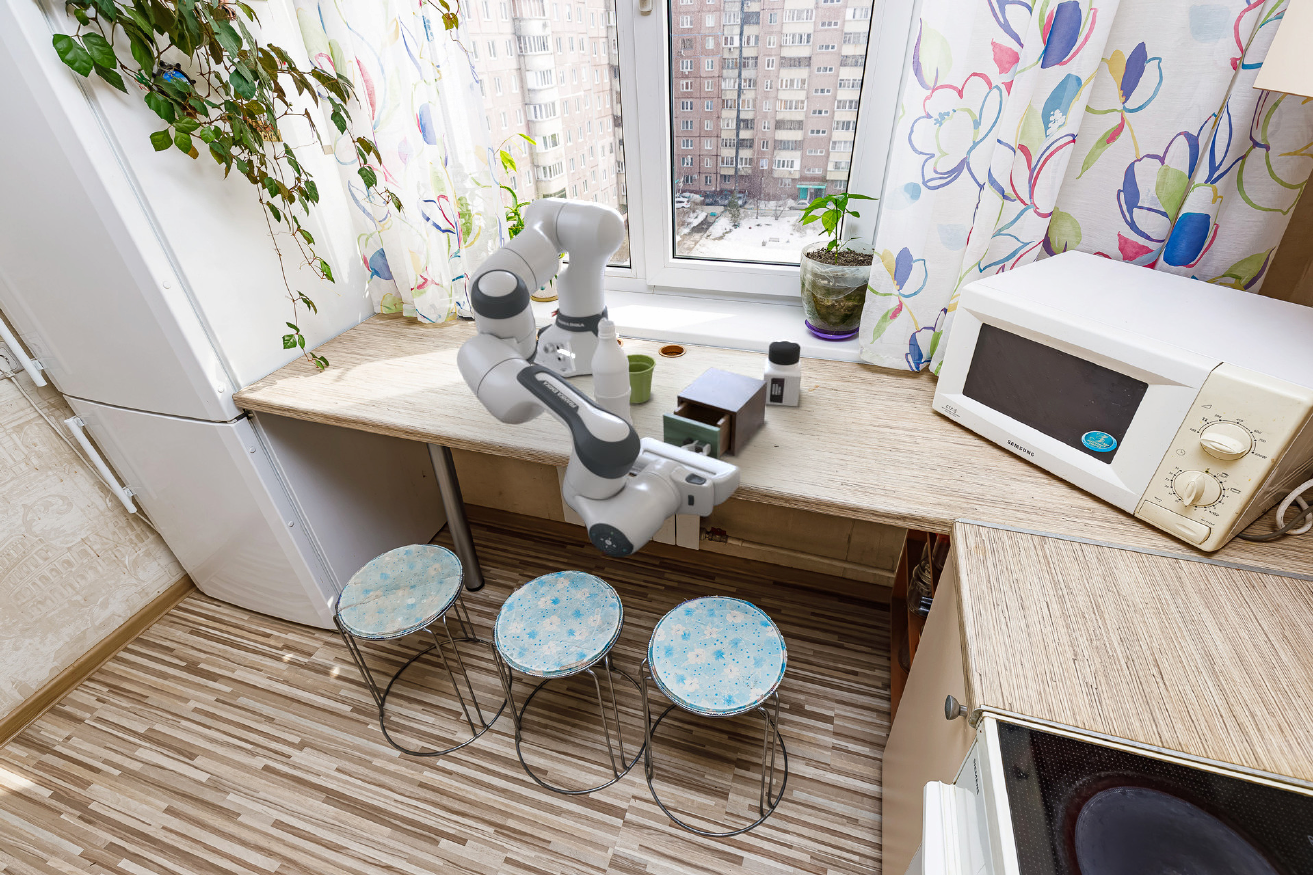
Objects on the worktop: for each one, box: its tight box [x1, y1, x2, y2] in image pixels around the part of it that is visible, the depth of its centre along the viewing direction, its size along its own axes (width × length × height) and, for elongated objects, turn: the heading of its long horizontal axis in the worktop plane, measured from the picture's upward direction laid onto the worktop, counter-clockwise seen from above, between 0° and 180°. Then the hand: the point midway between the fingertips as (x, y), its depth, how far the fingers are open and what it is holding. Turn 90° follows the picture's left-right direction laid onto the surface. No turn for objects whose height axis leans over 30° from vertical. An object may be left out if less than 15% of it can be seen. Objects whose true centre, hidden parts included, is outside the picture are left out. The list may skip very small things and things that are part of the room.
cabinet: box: [676, 367, 767, 456], centre depth 121 cm, size 14×13×10 cm
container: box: [763, 339, 802, 407], centre depth 131 cm, size 8×8×13 cm
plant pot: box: [626, 353, 657, 405], centre depth 134 cm, size 9×9×9 cm
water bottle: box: [591, 319, 634, 428], centre depth 115 cm, size 7×7×25 cm
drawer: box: [662, 402, 732, 461], centre depth 116 cm, size 14×12×8 cm
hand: (703, 445), depth 110 cm, fingers closed
